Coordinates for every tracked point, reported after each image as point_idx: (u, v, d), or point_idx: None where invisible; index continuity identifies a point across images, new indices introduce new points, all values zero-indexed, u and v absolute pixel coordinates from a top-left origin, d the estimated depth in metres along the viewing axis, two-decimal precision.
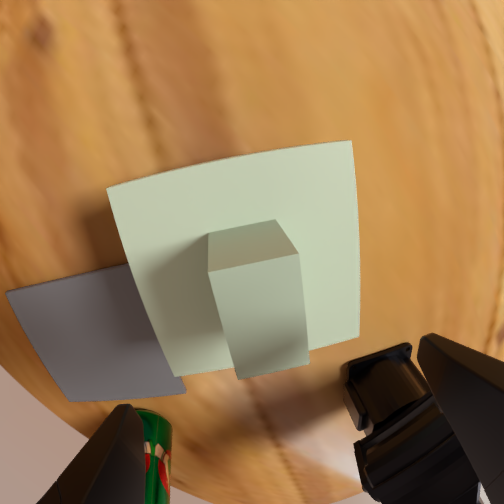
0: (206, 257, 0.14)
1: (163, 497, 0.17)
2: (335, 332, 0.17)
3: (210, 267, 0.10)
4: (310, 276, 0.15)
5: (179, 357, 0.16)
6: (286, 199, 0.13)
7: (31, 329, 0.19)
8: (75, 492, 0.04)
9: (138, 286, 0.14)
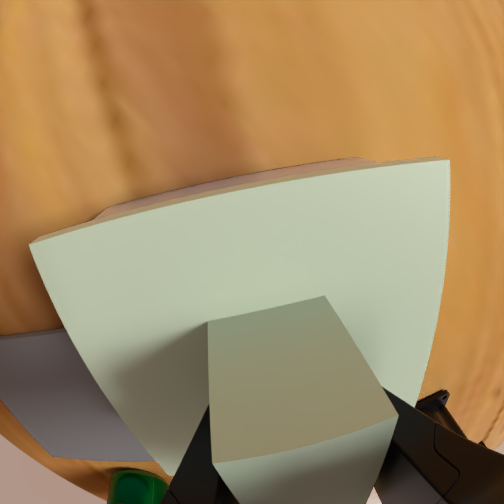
0: (205, 356, 0.08)
1: None
2: None
3: (216, 446, 0.04)
4: None
5: (173, 460, 0.10)
6: (346, 263, 0.07)
7: None
8: (202, 497, 0.04)
9: (102, 388, 0.08)
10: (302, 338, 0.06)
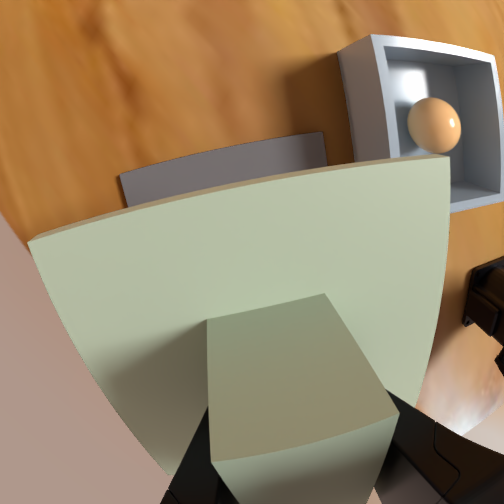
0: (204, 355, 0.08)
1: None
2: None
3: (215, 444, 0.04)
4: None
5: (173, 460, 0.10)
6: (346, 260, 0.07)
7: None
8: (202, 497, 0.04)
9: (101, 387, 0.08)
10: (302, 336, 0.06)
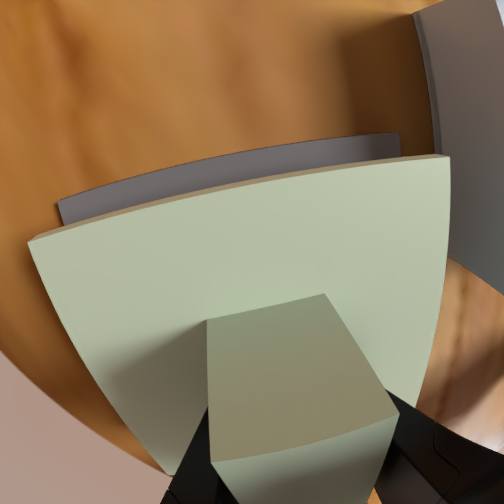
0: (204, 355, 0.08)
1: None
2: None
3: (215, 445, 0.04)
4: None
5: (173, 460, 0.10)
6: (345, 260, 0.07)
7: None
8: (202, 497, 0.04)
9: (101, 387, 0.08)
10: (302, 336, 0.06)
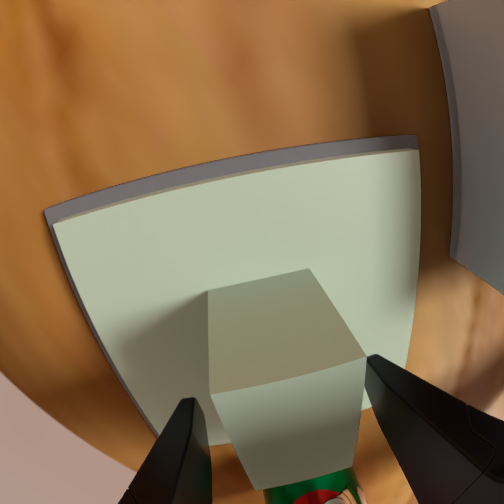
0: (205, 323, 0.09)
1: None
2: None
3: (213, 381, 0.06)
4: None
5: None
6: (326, 239, 0.09)
7: None
8: (157, 499, 0.04)
9: (112, 357, 0.09)
10: (287, 300, 0.08)
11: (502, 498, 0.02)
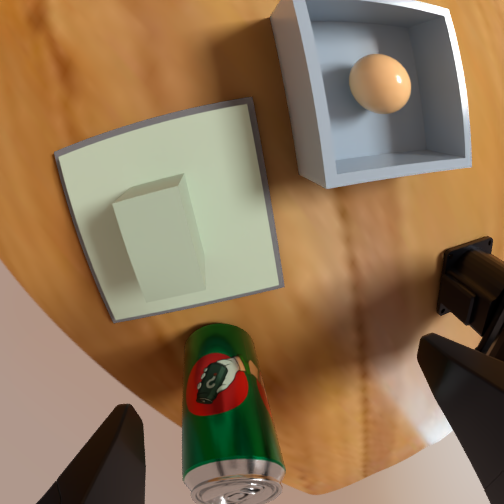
0: None
1: (274, 431, 0.14)
2: (253, 279, 0.19)
3: (115, 201, 0.13)
4: (220, 222, 0.17)
5: (117, 300, 0.18)
6: (192, 156, 0.16)
7: None
8: (75, 492, 0.04)
9: (82, 234, 0.16)
10: (163, 181, 0.15)
11: None
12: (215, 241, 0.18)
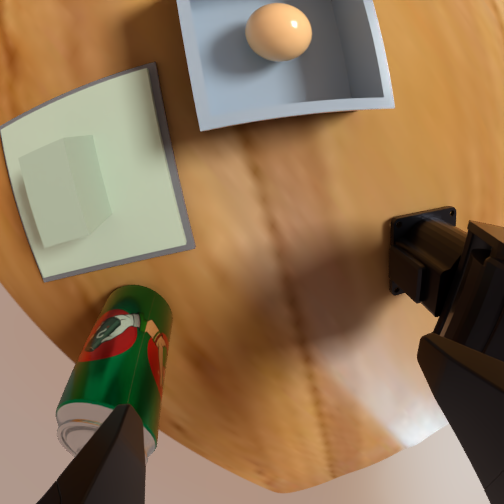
0: None
1: (150, 390, 0.13)
2: (159, 237, 0.18)
3: None
4: (124, 180, 0.17)
5: (44, 257, 0.18)
6: (99, 119, 0.15)
7: None
8: (75, 492, 0.04)
9: (15, 196, 0.16)
10: None
11: None
12: (120, 198, 0.17)
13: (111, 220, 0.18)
